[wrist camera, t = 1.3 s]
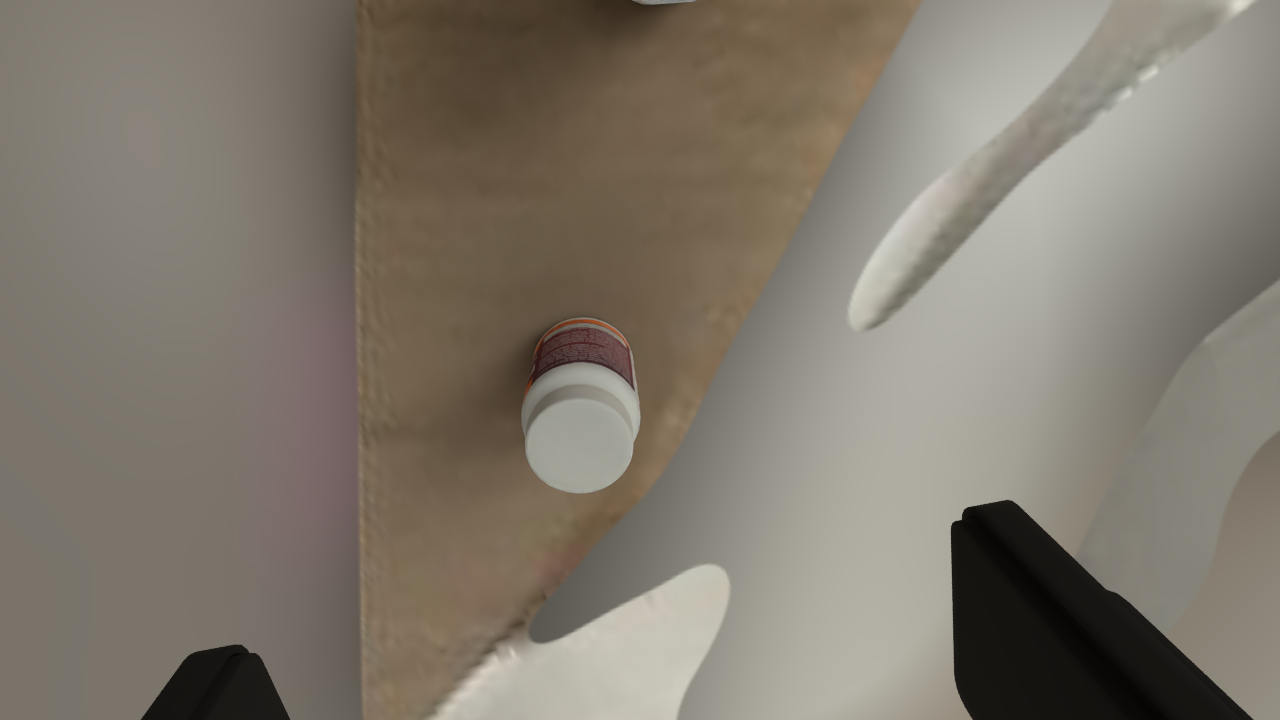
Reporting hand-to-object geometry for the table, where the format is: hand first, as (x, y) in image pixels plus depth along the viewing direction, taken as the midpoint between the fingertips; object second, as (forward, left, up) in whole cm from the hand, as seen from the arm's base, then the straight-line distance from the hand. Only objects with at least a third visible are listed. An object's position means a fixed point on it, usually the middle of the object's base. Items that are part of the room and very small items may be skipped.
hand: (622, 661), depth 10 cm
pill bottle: (+5, -2, -24) cm, 25 cm away
